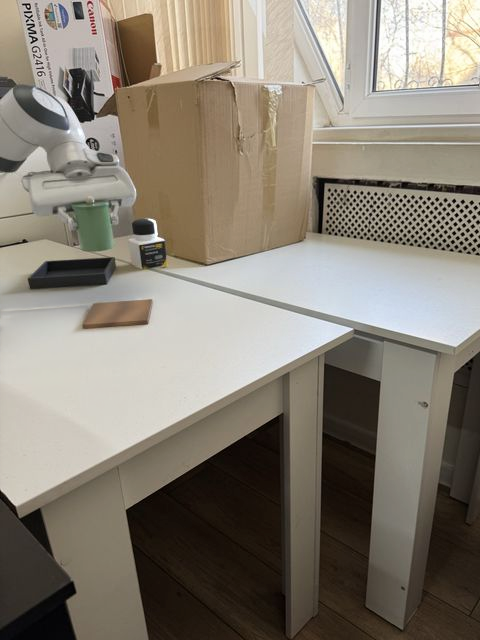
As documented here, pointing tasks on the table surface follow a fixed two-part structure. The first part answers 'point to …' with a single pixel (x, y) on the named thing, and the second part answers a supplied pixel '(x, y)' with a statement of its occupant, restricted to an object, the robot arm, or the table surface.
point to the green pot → (94, 225)
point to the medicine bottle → (146, 245)
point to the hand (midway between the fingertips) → (95, 225)
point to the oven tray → (73, 273)
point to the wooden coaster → (118, 313)
